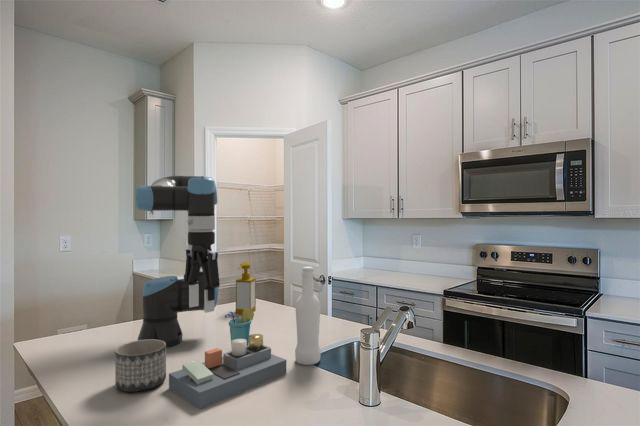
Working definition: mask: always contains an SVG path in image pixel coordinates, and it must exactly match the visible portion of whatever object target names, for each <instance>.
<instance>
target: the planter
mask: <svg viewBox="0 0 640 426" xmlns="http://www.w3.org/2000/svg"><path fill="white" fill-rule="evenodd" d="M114 354H115V355H114V357H115V360H114V361H115V363H114V365H115V368H114V369H115V373H114V374H115V377H114V378H115V383H114V384H115V388H116V389H118V390H119V391H124V392H139V391H145V390H149V389H152V388H155V387H157V386H159V385H161V384H162V383H164V382H165V380H166V378H167V347H166V343H165V342H164V341H162V340H156V339H146V340H138V339H137V340H133V341H129V342H126V343H124V344H121V345H119V346H118V347H117V348H116V349H115V353H114Z"/></svg>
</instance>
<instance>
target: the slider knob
mask: <svg viewBox="0 0 640 426" xmlns="http://www.w3.org/2000/svg"><path fill="white" fill-rule="evenodd" d="M222 357H223V349H221V348H218V347H216V348H212V349H209V350H205V351H204V362H205V366H206V367H208V368H212V367H215V366H218V365H221V364H222Z"/></svg>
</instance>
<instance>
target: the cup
mask: <svg viewBox="0 0 640 426" xmlns="http://www.w3.org/2000/svg"><path fill="white" fill-rule="evenodd" d="M254 313H255V312H253V310H252V309H249V308H246V309H245V310H244V311H243V312H242V314H241V316H240V317H236V316H235V313H234V312H233V311H232V310H231V311H229V312H228V313H227V314H225V315H224V317H225V318H228V317H230V316H231V317H232V318H231V319H230V320H229V321H228V322H227V323H228V326H229V333H230V334H229V335H230V346H231V348H232V340H235V339H246V340H247V346H249V336H250V332H251V324H252V321H253V320H254V315H255V314H254Z"/></svg>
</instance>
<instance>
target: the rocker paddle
mask: <svg viewBox="0 0 640 426" xmlns="http://www.w3.org/2000/svg"><path fill="white" fill-rule="evenodd" d="M202 363H203V362H201V361H200V360H199V359H196V360H193V361H189V362H186V363H183V364H182V369H183V370H184V371H185V372H186V373H187V374H188V375H189V376H190V377H191V378H192V379H193V380H194V381H195V382H196V383H197V384H200V383H203V382H206V381H209V380H211V379H213V375H214V374H213V373H212V372H211V371H210V370H209V369H208V368H207V367H205V366H204V365H203V364H202ZM182 369H181V370H182Z"/></svg>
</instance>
